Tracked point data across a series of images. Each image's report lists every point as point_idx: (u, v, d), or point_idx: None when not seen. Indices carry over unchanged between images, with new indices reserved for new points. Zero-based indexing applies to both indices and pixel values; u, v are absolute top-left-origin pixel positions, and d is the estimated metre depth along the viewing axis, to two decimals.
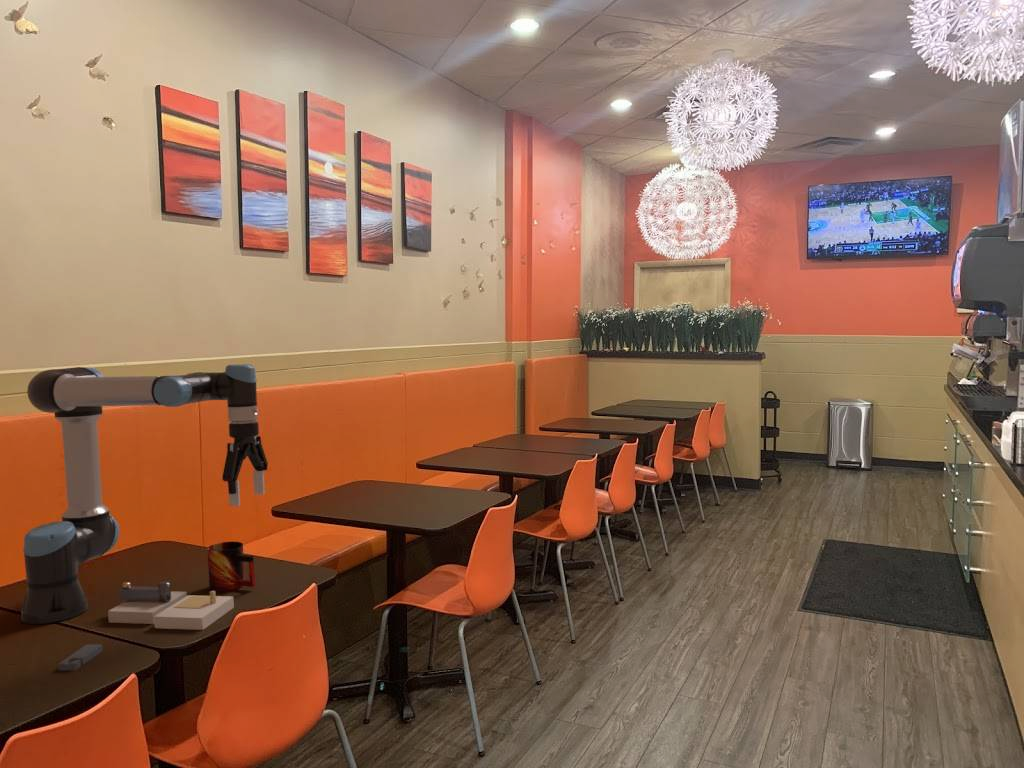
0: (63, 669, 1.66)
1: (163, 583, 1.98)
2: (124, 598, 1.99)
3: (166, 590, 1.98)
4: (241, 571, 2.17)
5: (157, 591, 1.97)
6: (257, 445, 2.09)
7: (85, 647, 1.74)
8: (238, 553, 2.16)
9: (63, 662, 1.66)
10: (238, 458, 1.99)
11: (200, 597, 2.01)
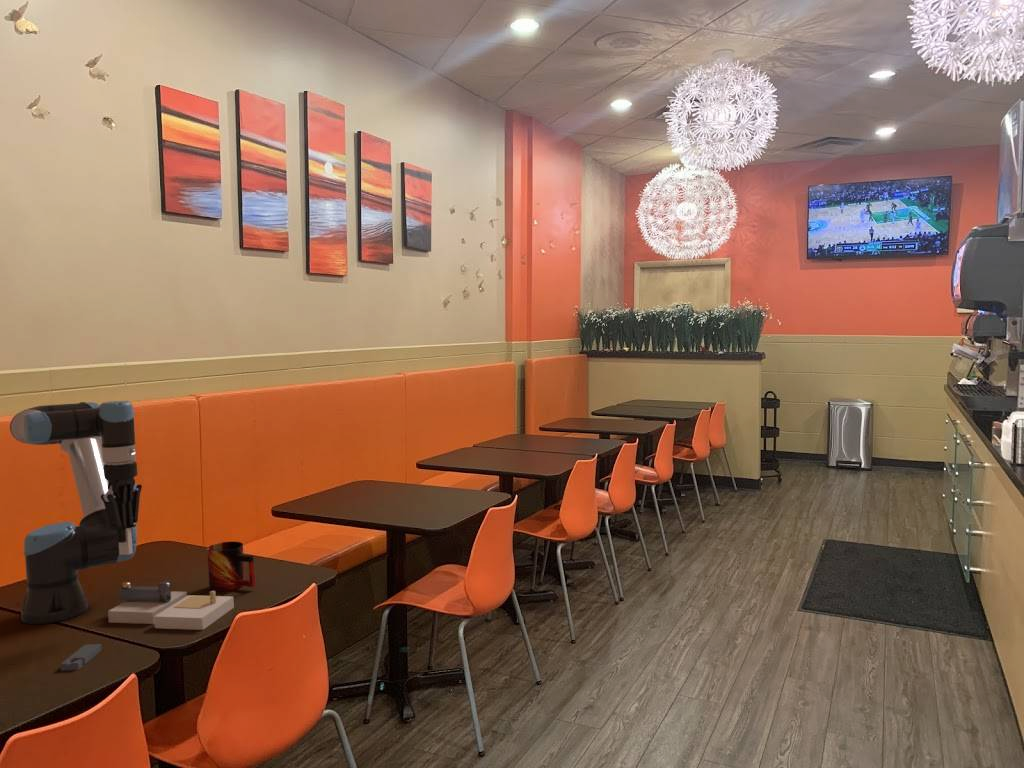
0: (65, 669, 1.66)
1: (163, 583, 1.98)
2: (124, 598, 1.99)
3: (166, 590, 1.98)
4: (241, 571, 2.17)
5: (157, 591, 1.97)
6: (135, 493, 1.96)
7: (84, 647, 1.74)
8: (238, 553, 2.16)
9: (65, 662, 1.66)
10: (119, 505, 1.90)
11: (200, 597, 2.01)
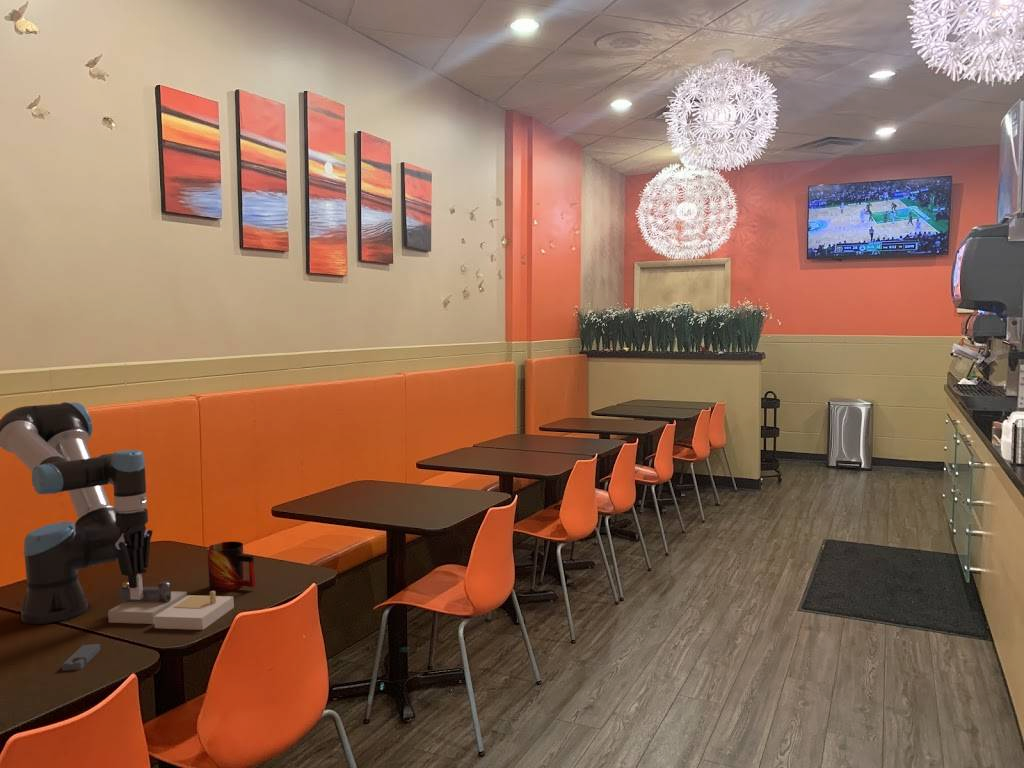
0: (67, 669, 1.66)
1: (163, 583, 1.98)
2: (124, 598, 1.99)
3: (166, 590, 1.98)
4: (241, 571, 2.17)
5: (157, 591, 1.97)
6: (145, 538, 2.01)
7: (83, 647, 1.74)
8: (238, 553, 2.16)
9: (67, 662, 1.66)
10: (130, 551, 1.95)
11: (200, 597, 2.01)
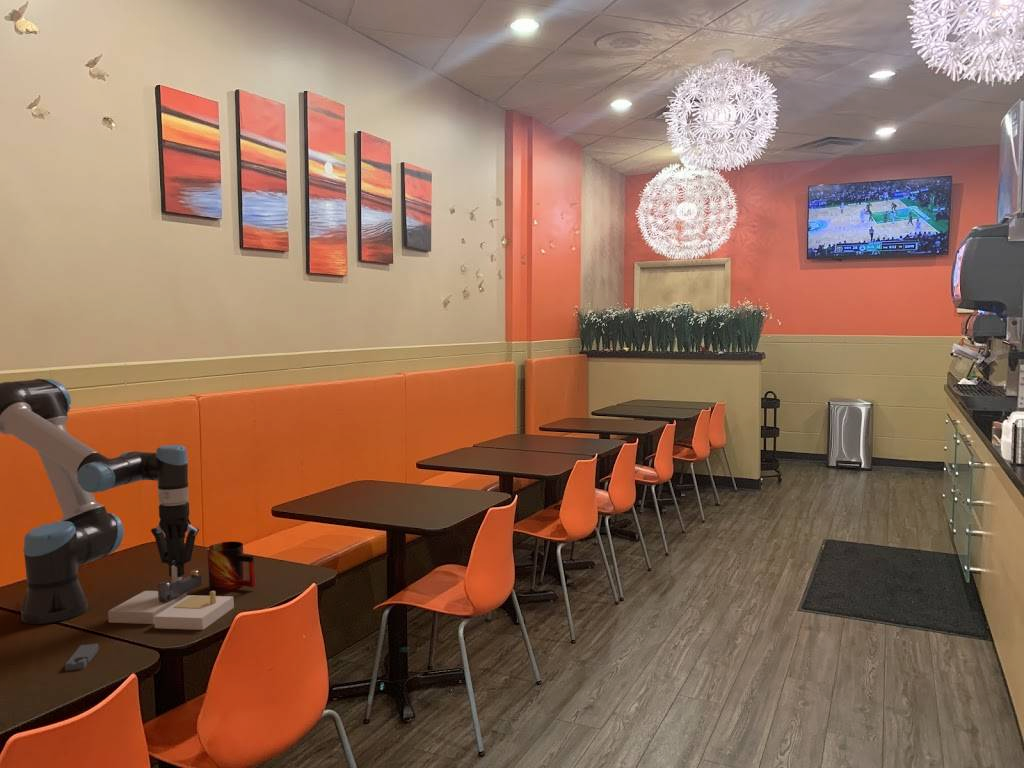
0: (70, 669, 1.66)
1: (162, 583, 1.98)
2: None
3: (159, 590, 1.98)
4: (241, 571, 2.17)
5: None
6: None
7: (82, 647, 1.74)
8: (238, 553, 2.16)
9: (69, 662, 1.66)
10: None
11: (200, 597, 2.01)
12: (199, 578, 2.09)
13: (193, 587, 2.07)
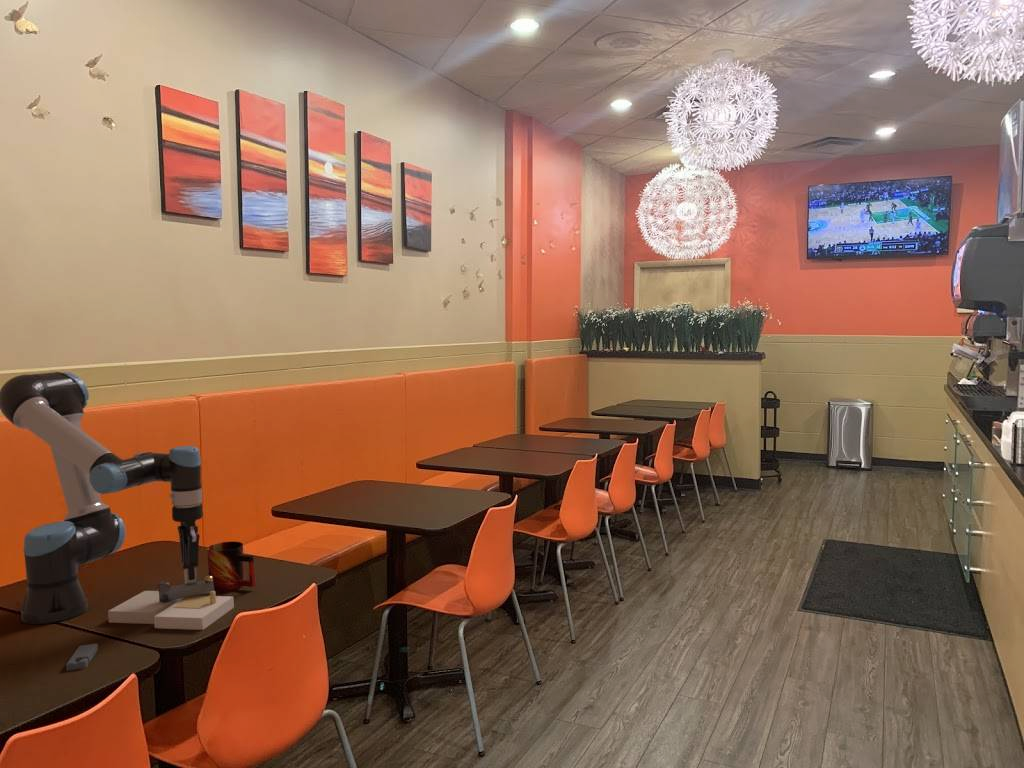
0: (72, 669, 1.66)
1: (163, 582, 1.99)
2: None
3: None
4: (241, 571, 2.17)
5: None
6: None
7: (81, 648, 1.74)
8: (238, 553, 2.16)
9: (71, 662, 1.66)
10: None
11: (200, 597, 2.01)
12: (211, 585, 2.03)
13: (201, 593, 2.02)
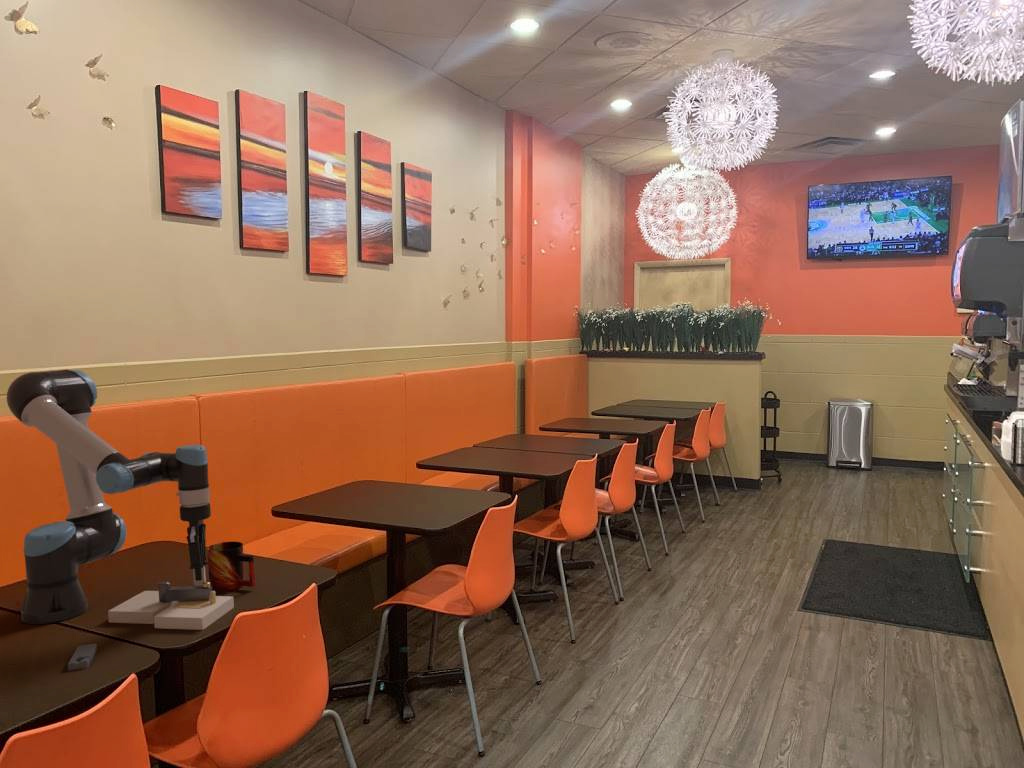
0: (74, 668, 1.66)
1: (164, 582, 1.99)
2: None
3: None
4: (241, 571, 2.17)
5: None
6: None
7: (80, 648, 1.74)
8: (238, 553, 2.16)
9: (72, 662, 1.66)
10: None
11: None
12: (206, 591, 1.98)
13: (197, 598, 1.98)
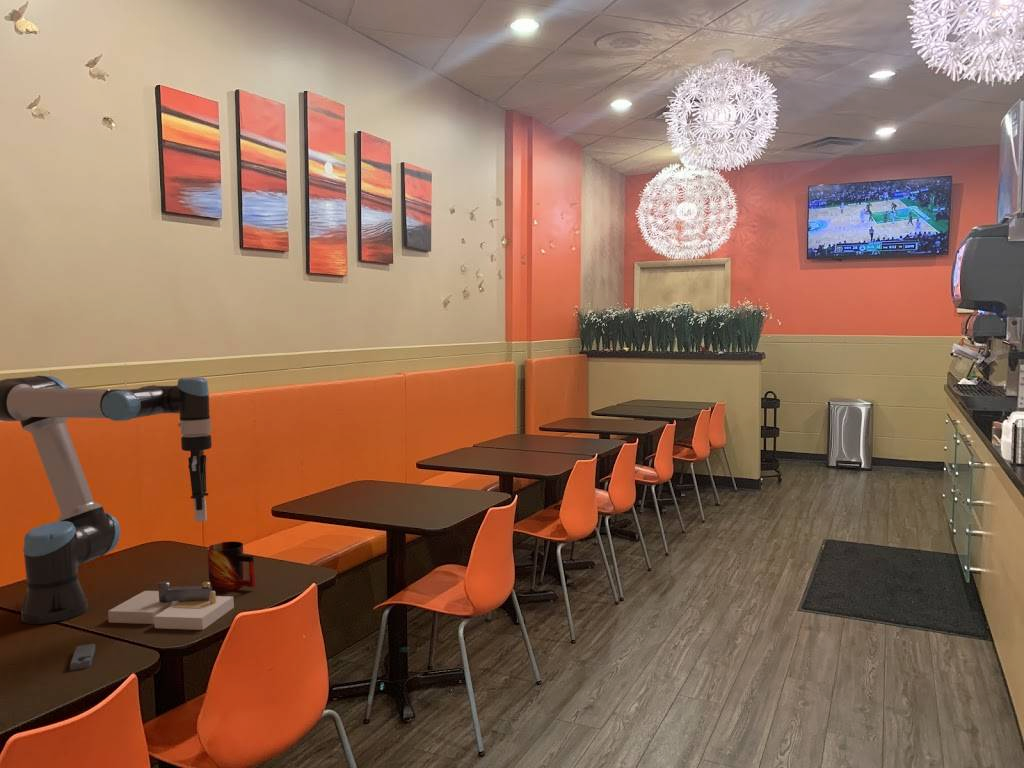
0: (76, 668, 1.66)
1: (164, 582, 1.99)
2: None
3: None
4: (241, 571, 2.17)
5: None
6: None
7: (79, 648, 1.74)
8: (238, 553, 2.16)
9: (74, 661, 1.67)
10: None
11: None
12: (206, 591, 1.98)
13: (197, 598, 1.98)
